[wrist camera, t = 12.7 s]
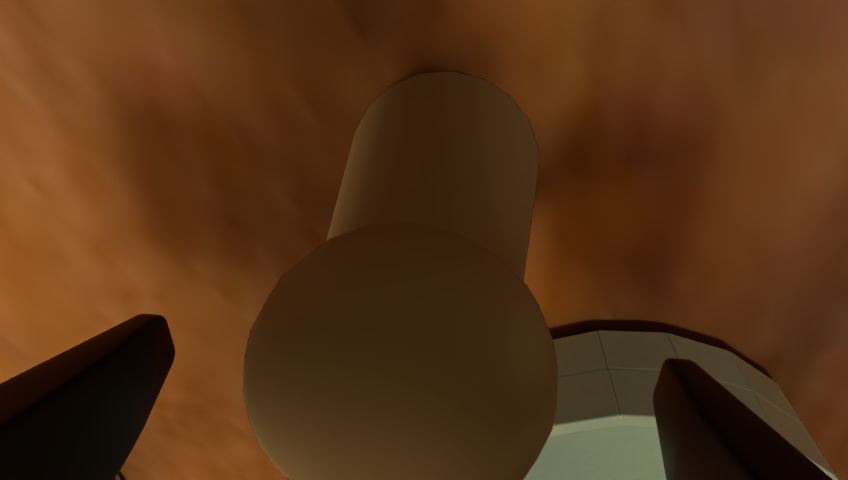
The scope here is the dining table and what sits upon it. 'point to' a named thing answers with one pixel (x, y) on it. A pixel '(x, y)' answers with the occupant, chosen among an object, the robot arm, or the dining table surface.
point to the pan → (641, 404)
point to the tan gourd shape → (413, 304)
